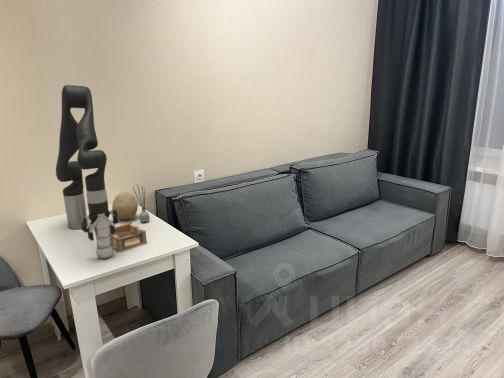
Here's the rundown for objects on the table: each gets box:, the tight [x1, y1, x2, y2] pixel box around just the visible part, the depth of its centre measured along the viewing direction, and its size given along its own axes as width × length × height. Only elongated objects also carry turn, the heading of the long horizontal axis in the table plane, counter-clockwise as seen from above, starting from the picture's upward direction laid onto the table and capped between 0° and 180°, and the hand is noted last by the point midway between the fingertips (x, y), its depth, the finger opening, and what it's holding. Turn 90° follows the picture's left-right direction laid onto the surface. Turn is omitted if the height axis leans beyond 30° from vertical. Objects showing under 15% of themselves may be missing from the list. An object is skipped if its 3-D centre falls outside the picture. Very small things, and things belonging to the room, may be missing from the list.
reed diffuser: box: [132, 184, 150, 223], centre depth 193 cm, size 10×7×20 cm
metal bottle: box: [93, 212, 114, 259], centre depth 155 cm, size 6×7×20 cm
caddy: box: [110, 222, 148, 253], centre depth 170 cm, size 14×13×6 cm
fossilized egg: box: [111, 191, 139, 221], centre depth 198 cm, size 13×13×15 cm
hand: (102, 237), depth 155 cm, fingers open, 8 cm apart
